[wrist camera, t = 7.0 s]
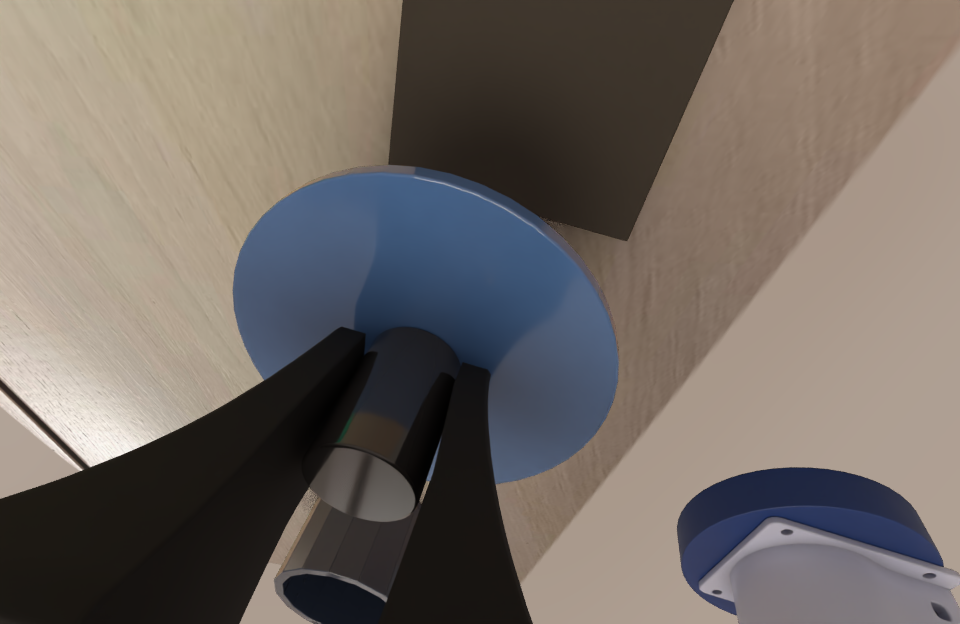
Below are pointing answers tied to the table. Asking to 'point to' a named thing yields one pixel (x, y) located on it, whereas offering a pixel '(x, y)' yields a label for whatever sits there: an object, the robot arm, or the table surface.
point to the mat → (550, 97)
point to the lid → (426, 326)
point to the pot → (342, 566)
